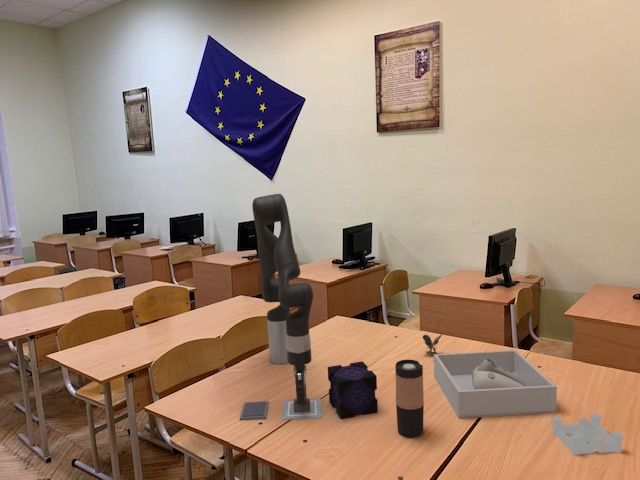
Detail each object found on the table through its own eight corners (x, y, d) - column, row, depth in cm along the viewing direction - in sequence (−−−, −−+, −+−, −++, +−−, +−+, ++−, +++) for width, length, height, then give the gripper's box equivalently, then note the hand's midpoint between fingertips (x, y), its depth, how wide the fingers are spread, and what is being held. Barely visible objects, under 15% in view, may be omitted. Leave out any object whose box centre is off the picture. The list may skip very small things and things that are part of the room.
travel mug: (393, 435, 137) (391, 367, 134) (401, 422, 144) (400, 357, 141) (419, 441, 134) (418, 372, 131) (427, 427, 140) (426, 361, 137)
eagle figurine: (430, 359, 189) (429, 336, 187) (418, 353, 195) (418, 331, 194) (445, 355, 192) (445, 333, 190) (434, 349, 198) (434, 328, 197)
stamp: (294, 404, 157) (293, 381, 156) (310, 404, 157) (308, 380, 156) (293, 412, 152) (292, 388, 151) (309, 411, 152) (308, 387, 151)
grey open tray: (434, 376, 173) (433, 354, 172) (515, 372, 174) (515, 349, 172) (458, 418, 145) (458, 392, 143) (556, 413, 145) (556, 386, 144)
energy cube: (340, 419, 147) (338, 382, 145) (329, 401, 159) (327, 366, 157) (377, 412, 150) (376, 375, 149) (363, 395, 162) (362, 361, 160)
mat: (284, 401, 160) (284, 400, 160) (320, 399, 160) (320, 398, 160) (282, 420, 148) (282, 418, 148) (321, 418, 148) (321, 416, 148)
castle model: (598, 429, 136) (599, 404, 135) (634, 461, 121) (635, 433, 120) (545, 432, 136) (545, 407, 135) (574, 465, 121) (575, 437, 120)
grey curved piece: (503, 409, 148) (504, 375, 146) (459, 389, 161) (458, 358, 160) (535, 392, 157) (535, 360, 155) (490, 375, 170) (490, 346, 169)
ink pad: (244, 405, 159) (243, 401, 159) (268, 403, 159) (268, 400, 159) (239, 421, 149) (239, 417, 149) (266, 419, 149) (265, 416, 149)
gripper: (287, 339, 158) (290, 386, 161) (285, 356, 144) (288, 408, 147) (310, 338, 158) (313, 385, 161) (310, 355, 144) (313, 406, 147)
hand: (301, 396), depth 154 cm, fingers open, 8 cm apart
